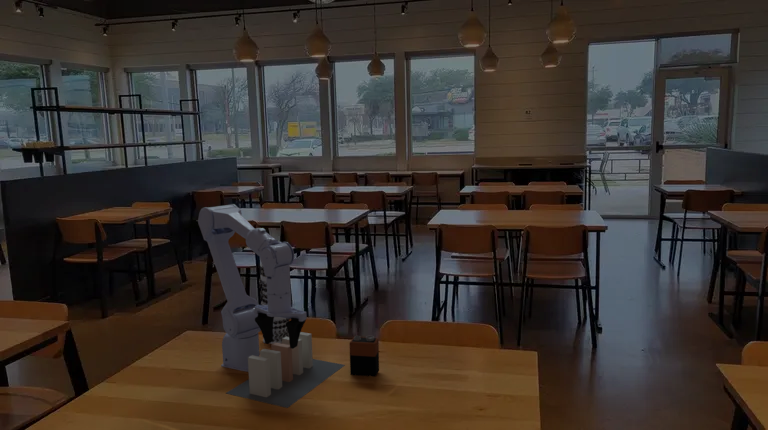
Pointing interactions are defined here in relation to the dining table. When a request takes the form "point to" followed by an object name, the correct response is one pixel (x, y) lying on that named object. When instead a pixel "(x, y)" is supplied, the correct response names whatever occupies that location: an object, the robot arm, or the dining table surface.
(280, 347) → the domino
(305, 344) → the domino
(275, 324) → the decorative candle
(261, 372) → the domino
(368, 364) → the battery
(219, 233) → the robot arm
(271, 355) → the domino
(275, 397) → the mat
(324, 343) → the dining table surface
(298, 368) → the domino
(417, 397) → the dining table surface
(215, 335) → the dining table surface
